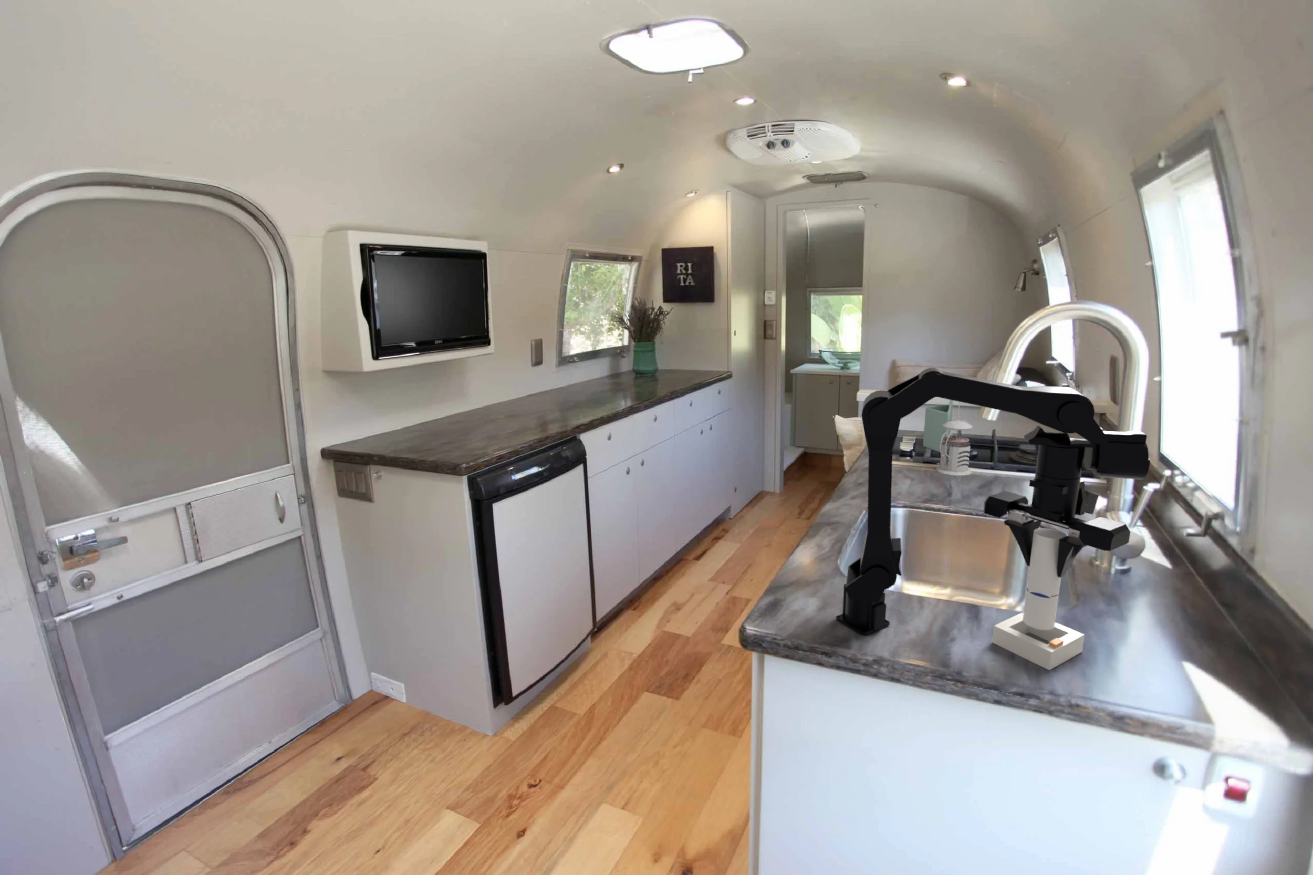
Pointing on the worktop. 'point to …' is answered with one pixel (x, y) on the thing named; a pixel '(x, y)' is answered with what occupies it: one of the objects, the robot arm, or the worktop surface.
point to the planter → (936, 425)
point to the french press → (955, 450)
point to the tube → (1043, 580)
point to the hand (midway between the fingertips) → (1045, 571)
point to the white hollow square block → (1038, 641)
